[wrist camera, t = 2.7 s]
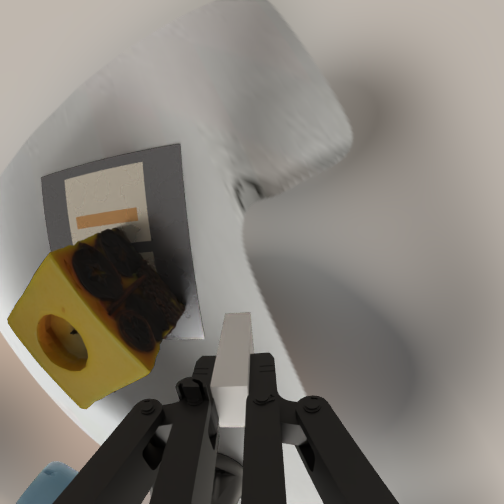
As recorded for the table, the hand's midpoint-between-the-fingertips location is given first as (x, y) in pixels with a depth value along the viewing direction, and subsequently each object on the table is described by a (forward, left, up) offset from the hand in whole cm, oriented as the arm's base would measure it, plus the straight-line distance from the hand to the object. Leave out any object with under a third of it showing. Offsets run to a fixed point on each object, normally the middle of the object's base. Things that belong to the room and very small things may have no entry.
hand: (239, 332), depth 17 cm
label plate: (+4, +12, -8) cm, 15 cm away
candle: (0, +12, -8) cm, 15 cm away
